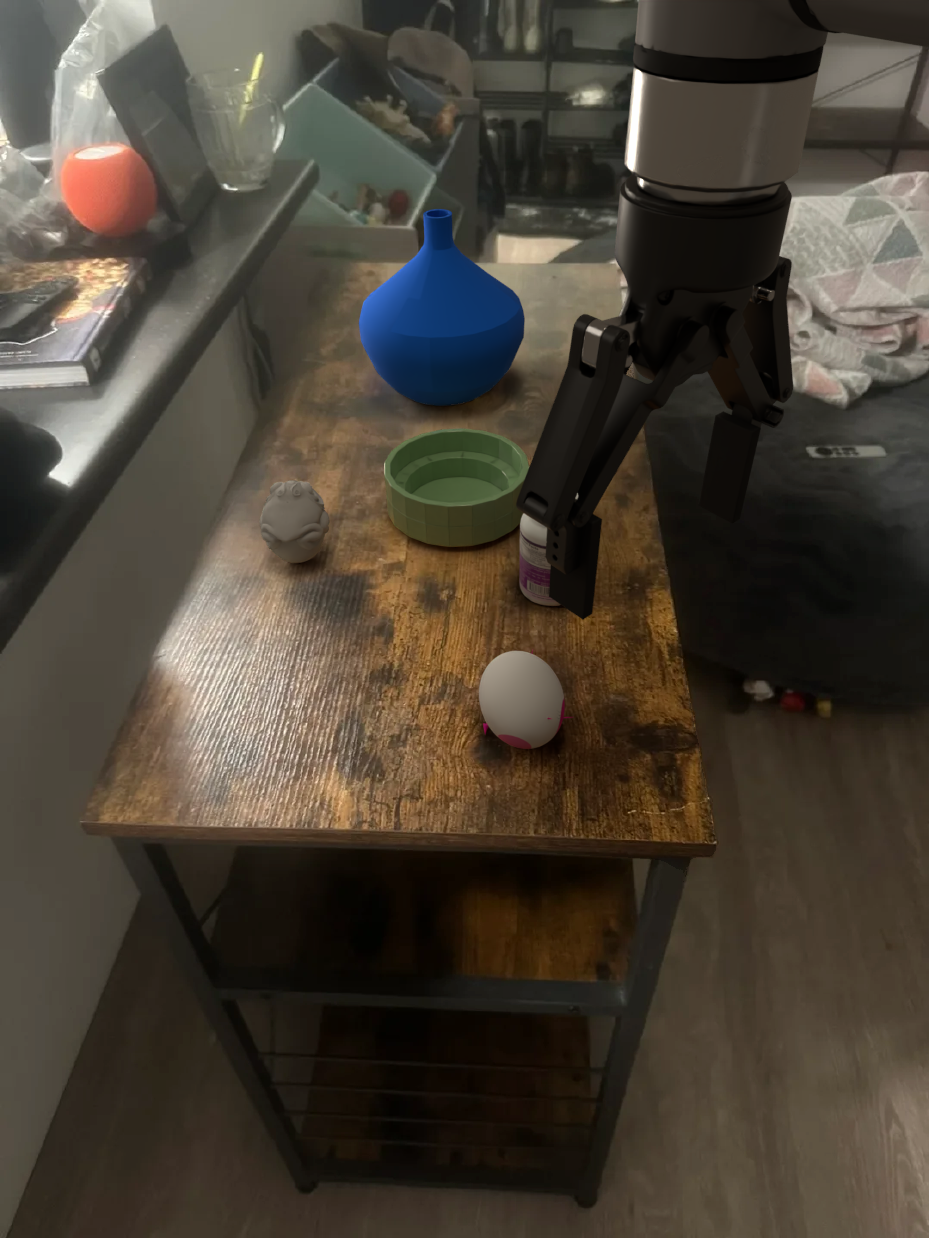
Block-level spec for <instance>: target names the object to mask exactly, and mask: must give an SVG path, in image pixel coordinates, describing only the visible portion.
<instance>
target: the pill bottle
mask: <svg viewBox="0 0 929 1238" xmlns="http://www.w3.org/2000/svg"><path fill="white" fill-rule="evenodd" d="M577 498H578V493H577V496H576V499H577ZM546 538H547V527H545V526H543V525H542V524H540V523H539V522H537V521H535V520H534V519H532V518H530V517H529V516H527V515H526V514H524V513H523V515H522V518H521V522H520V524H519V567H518V568H519V569H518V571H519V574H518V579H519V580H518V581H519V589H520V591H521V593H522V594H523V595H524V597H525V598H526V599H528V600H529V601H530V602H533V603H535V604H538V605H542V606H549V607H550V606H551V607H556V606H557V607H558V606H562V605H561V604H559V603H558V602H556V601H555V600H553V599H552V598H550V597H549V585H550V568H551V564H549V563H548V562H547V559H546V557H545V556H546V549H547V548H546V543H547V541H546Z"/></svg>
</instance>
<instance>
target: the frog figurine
mask: <svg viewBox="0 0 929 1238" xmlns="http://www.w3.org/2000/svg"><path fill="white" fill-rule="evenodd" d="M325 509H326V507H325V502H324V499H323V497H322V496H321V495H320V494H319V492H318V491H317V490H315V489H314V488H313V486H312V485H311V483H310V482H308V481H302V480H297V479H296V480H293V479H292V480H287V481H285V482H283V481H277V482H273V484H272V485H271V486H270V487H269V495H268V496H266V498H265V503H263V509H262V511H261V515H260V518H259V530H260V536H261V539H262V540H263V541H264V542H265V544H266V546H267V548H268V549H269V550H271V552H272V553H273V554H274V555H275V557H277V558H278V559H280V560H282V561H284V562H287V563H291V564H299V563H300V564H301V563H304V562H307V561H309V560H311V559H313V558H314V557H315V556H316V555H317V554H318V553H319V552H320V550H321V549H322V546H323V545H324V541H325V536H326V534H327V533H328V532H329V529H330V527H329V525H330V522H331V521H330V515H329V513H328V512H327V511H326V510H325Z"/></svg>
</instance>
